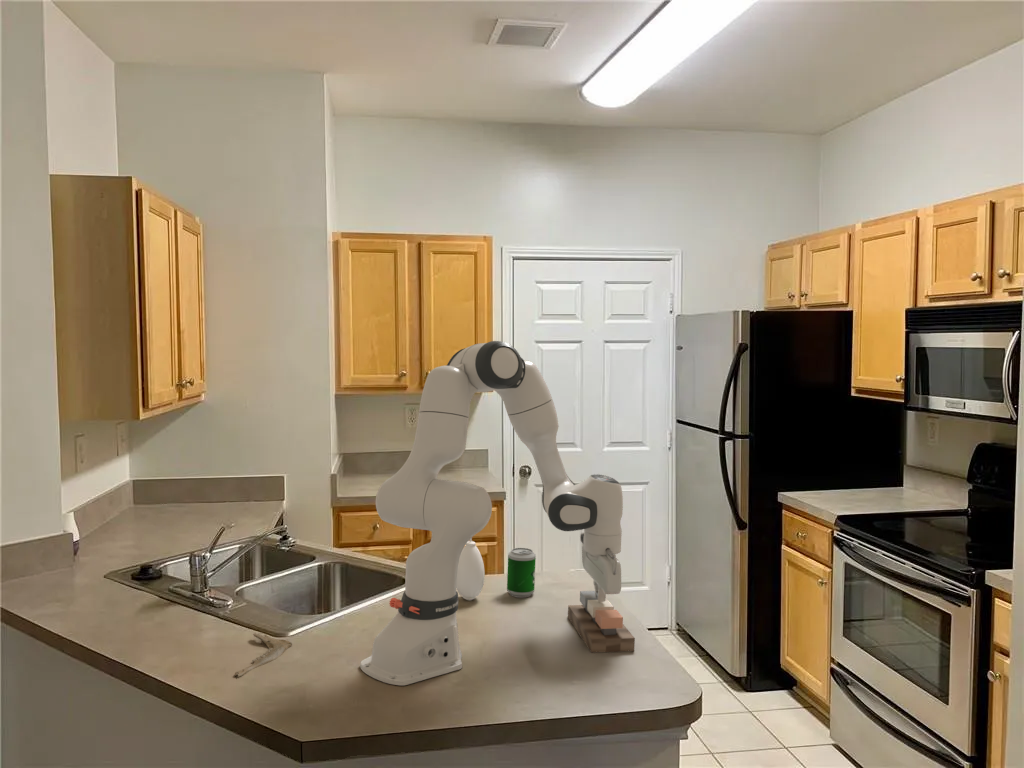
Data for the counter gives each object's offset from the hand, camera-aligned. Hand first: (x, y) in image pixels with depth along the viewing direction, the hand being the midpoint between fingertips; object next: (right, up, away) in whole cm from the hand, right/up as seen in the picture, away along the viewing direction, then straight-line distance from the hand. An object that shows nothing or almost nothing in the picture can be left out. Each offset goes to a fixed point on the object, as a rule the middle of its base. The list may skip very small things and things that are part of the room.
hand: (600, 599), depth 189 cm
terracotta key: (+1, -7, -7) cm, 10 cm away
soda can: (-19, -6, +26) cm, 33 cm away
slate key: (-1, -6, +7) cm, 9 cm away
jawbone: (-77, -7, -20) cm, 80 cm away
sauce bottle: (-32, -6, +20) cm, 39 cm away
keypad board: (0, -8, 0) cm, 8 cm away
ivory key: (0, -6, 0) cm, 6 cm away
